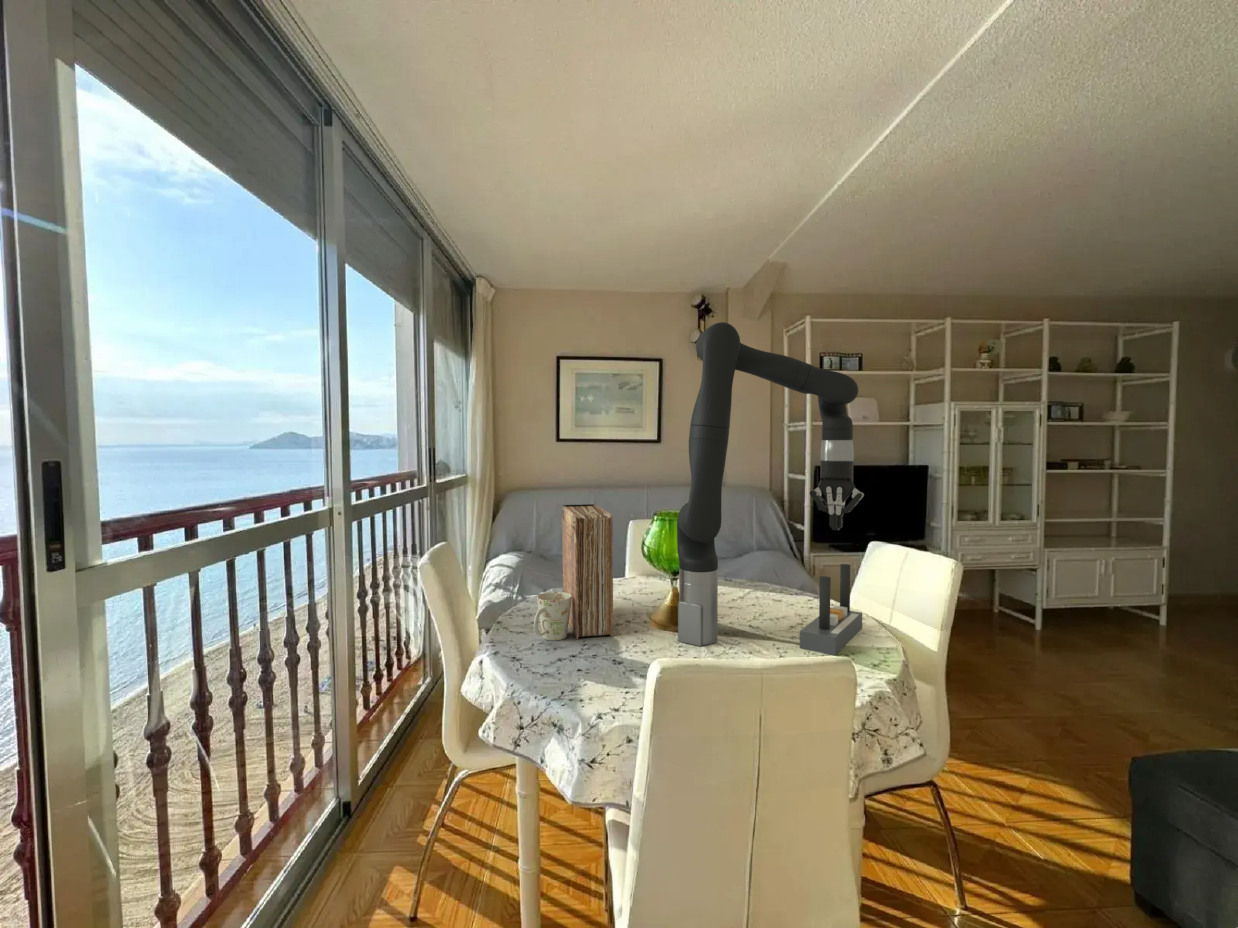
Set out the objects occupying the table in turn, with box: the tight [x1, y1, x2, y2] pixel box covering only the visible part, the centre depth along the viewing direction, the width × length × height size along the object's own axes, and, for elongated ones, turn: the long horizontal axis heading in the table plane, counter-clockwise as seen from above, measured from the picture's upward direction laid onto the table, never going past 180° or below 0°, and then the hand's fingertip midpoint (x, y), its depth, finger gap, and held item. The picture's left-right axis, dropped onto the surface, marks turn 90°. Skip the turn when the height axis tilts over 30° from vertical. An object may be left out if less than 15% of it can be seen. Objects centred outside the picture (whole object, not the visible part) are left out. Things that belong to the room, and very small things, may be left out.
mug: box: [533, 591, 571, 641], centre depth 143 cm, size 8×13×10 cm, turn 155°
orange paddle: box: [830, 607, 843, 620], centre depth 146 cm, size 2×3×2 cm
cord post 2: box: [839, 563, 851, 613], centre depth 153 cm, size 2×2×12 cm
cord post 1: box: [818, 575, 832, 630], centre depth 139 cm, size 2×2×12 cm
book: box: [561, 503, 614, 641], centre depth 156 cm, size 25×9×30 cm, turn 13°
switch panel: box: [799, 605, 863, 656], centre depth 144 cm, size 24×8×6 cm, turn 144°
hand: (836, 529), depth 145 cm, fingers closed
